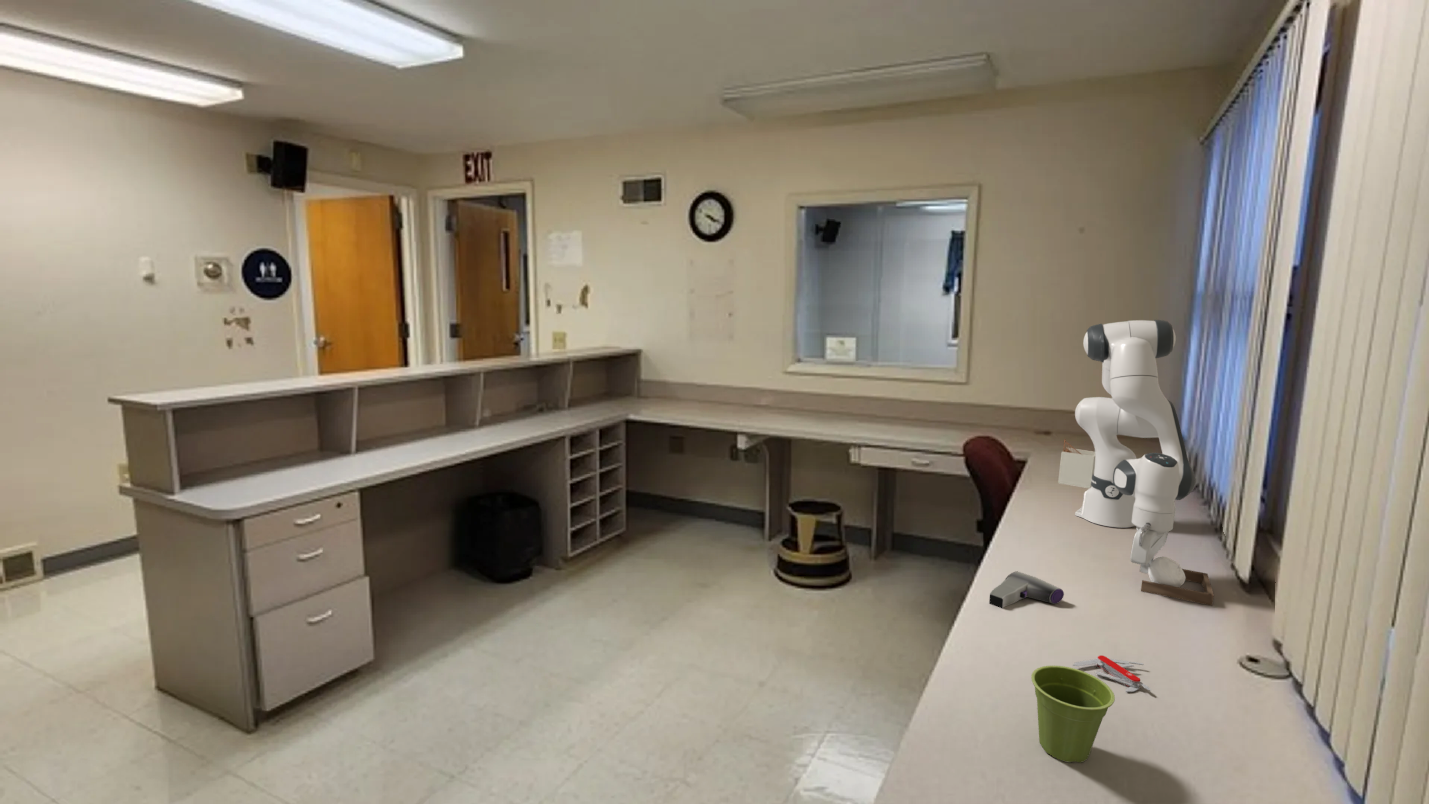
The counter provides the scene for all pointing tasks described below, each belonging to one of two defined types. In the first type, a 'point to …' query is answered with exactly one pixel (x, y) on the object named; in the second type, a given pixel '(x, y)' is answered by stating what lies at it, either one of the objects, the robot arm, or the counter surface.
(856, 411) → the counter surface
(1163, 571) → the white sculpted ball
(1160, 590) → the bay
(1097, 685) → the plant pot
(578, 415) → the counter surface
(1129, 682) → the swiss army knife
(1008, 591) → the infrared thermometer
